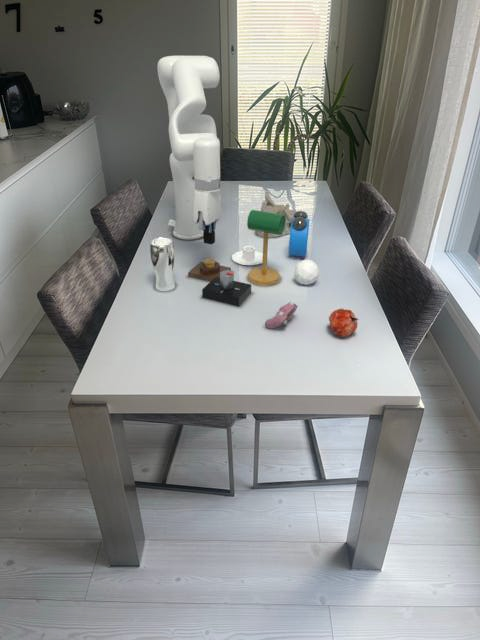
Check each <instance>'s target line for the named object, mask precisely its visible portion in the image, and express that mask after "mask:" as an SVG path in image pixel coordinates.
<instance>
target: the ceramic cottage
mask: <svg viewBox="0 0 480 640" xmlns="http://www.w3.org/2000/svg"><path fill="white" fill-rule="evenodd" d="M264 192H265V193H264V200H263V201H262V204H261V207H260V211H264V212H270V213H276V214H282V215H285V218H286V222H285V228H284V231H283V233H282V235H276V234H271V233H268V239H269V238H270V239H271V238H278V237H283V236H284V235H285V236H286V235H287V234H290V230H291V222H292V218H295V217H294V214H295V213H296V212H297V210H296V209H290V203H288V202H287V203H286V204H285V205H284V204H283V203H282V204H275V202H274V200H273V199H272V197H271V196H270V193H269V190H265V191H264ZM255 235H257V236H258V237H260V238H264V232H260V231H255Z"/></svg>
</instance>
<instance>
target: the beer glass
mask: <svg viewBox="0 0 480 640" xmlns="http://www.w3.org/2000/svg"><path fill="white" fill-rule="evenodd" d="M149 241H150V242H149V245H150V246H149V247H150V248H149V249H150V250H149V251H150V261H151V264H152V268H153V271H154V274H155V275H154V276H155V285H154V286H155V289H156V290H157V291H161V292H169V291H171V290H174V289H175V287H176V283H175V280H174V267H175V248H174V241H173V240H172V239H171V238H169V237H166V236H165V237H155V238H153V239H151V240H149Z"/></svg>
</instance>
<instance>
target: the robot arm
mask: <svg viewBox="0 0 480 640" xmlns="http://www.w3.org/2000/svg"><path fill="white" fill-rule="evenodd" d="M157 76H158V80H159V85H160V87H161V90H162V92H163V95H164V97H165V99H166V103H167V111H168V120H169V122H168V137H169V138H168V139H169V143H170V149H171V152H170V155H169V166H170V172H171V176H172V177H171V178H172V182H173V183H172V184H173V194H174V209H175V219H169V220H168V227H169V228H170V227H171V228H173V230H172V235H173V236H174V237H175V238H177V239H179V240H184V241H185V240H186V241H191V240H198V239H201V238H203V243H204V244H207V245H214V244H215V243H216V227H217V226H216V224H217V221H219V218H221V216H222V197H221V142H220V138H218V135H217V134H218V133H217V126H216V122H215V120H214V118H213V117H212V116H211V115H210V114H203V112H204V111H205V110H206V108H207V99H206V96H205V95H206V94H205V91H204V89H215V88H217V87H218V86H219V83H220V79H221V77H220V68H219V65H218V63H217V61H216V60H215V59H214V58H213V57H211V56H208V55H167V56H163V57H161V58H160V59H159V60H158V61H157ZM193 178H194V179H193Z"/></svg>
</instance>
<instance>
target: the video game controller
mask: <svg viewBox="0 0 480 640" xmlns="http://www.w3.org/2000/svg"><path fill="white" fill-rule="evenodd" d="M298 307H299V306H298V304H296V303H295V302H292V301H290V302H288V303H286V304H284V305H282V306H280V308H279V309H278V312H277V313H276V315H274V316H273V317H271V318H269V319H267V320H265V322H264V326H265V328H268V329H275V328H278V327H282V325H287V323H288V321H289V320H290V319H291V316H292V315H293V314H294V313H295V312H296V311H297V309H298Z"/></svg>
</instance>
